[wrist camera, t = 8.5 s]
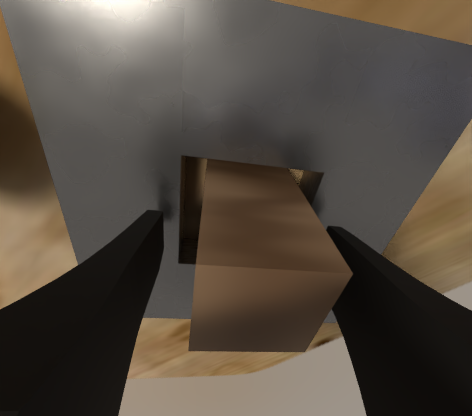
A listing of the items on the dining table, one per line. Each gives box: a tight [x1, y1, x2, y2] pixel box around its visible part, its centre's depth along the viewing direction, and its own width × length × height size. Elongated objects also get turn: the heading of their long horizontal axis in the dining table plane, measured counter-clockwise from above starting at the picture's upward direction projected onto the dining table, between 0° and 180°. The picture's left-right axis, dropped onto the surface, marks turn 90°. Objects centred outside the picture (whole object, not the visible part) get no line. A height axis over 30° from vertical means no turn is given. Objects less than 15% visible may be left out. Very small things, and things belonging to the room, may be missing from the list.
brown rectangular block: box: [188, 159, 353, 352], centre depth 10 cm, size 4×4×7 cm
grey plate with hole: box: [0, 0, 472, 323], centre depth 12 cm, size 16×16×2 cm
